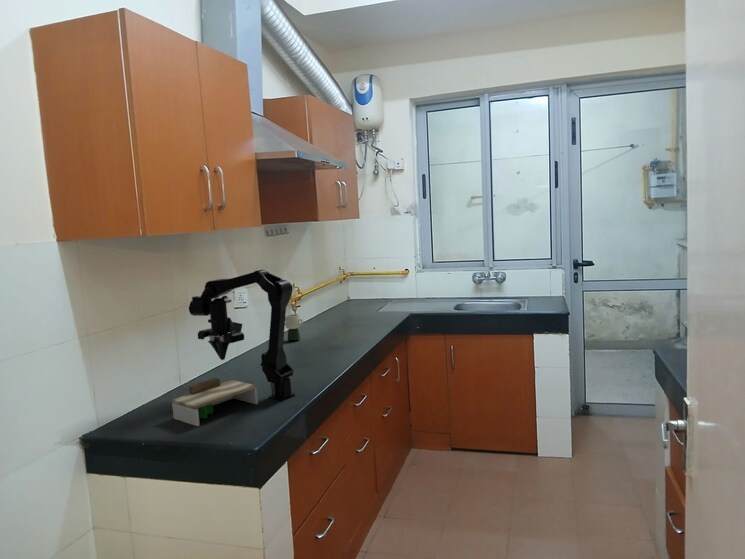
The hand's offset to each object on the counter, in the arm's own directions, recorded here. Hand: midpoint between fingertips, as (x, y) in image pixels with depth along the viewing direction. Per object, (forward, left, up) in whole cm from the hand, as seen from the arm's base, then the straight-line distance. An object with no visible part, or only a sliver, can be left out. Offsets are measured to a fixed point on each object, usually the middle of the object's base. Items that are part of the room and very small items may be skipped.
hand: (222, 359), depth 187 cm
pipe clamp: (-13, +18, -12) cm, 25 cm away
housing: (-14, +13, -12) cm, 22 cm away
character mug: (+41, -71, -12) cm, 83 cm away
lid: (-13, +13, -7) cm, 20 cm away
